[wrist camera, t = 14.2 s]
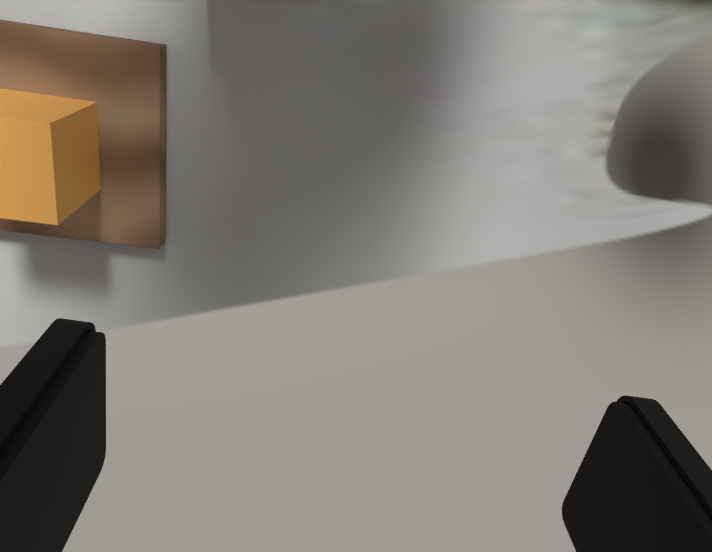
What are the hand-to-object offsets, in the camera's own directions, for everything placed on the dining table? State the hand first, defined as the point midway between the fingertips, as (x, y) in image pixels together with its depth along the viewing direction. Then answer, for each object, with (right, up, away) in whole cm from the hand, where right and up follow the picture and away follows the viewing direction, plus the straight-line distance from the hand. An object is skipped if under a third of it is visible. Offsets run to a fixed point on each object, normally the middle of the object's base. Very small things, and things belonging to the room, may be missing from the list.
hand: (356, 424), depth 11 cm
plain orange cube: (-20, +12, +28) cm, 37 cm away
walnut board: (-20, +12, +30) cm, 38 cm away
